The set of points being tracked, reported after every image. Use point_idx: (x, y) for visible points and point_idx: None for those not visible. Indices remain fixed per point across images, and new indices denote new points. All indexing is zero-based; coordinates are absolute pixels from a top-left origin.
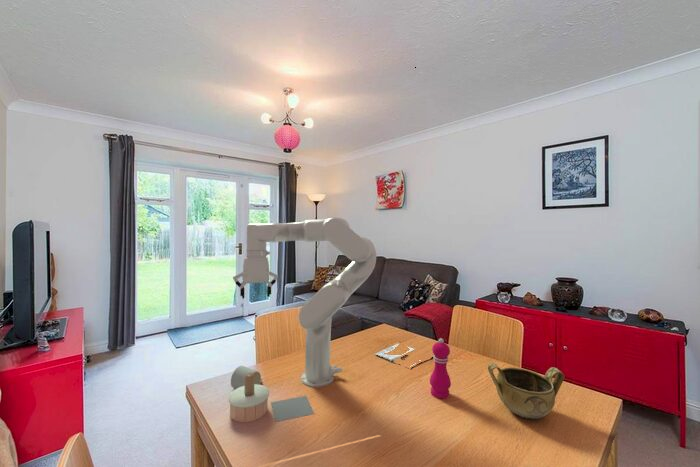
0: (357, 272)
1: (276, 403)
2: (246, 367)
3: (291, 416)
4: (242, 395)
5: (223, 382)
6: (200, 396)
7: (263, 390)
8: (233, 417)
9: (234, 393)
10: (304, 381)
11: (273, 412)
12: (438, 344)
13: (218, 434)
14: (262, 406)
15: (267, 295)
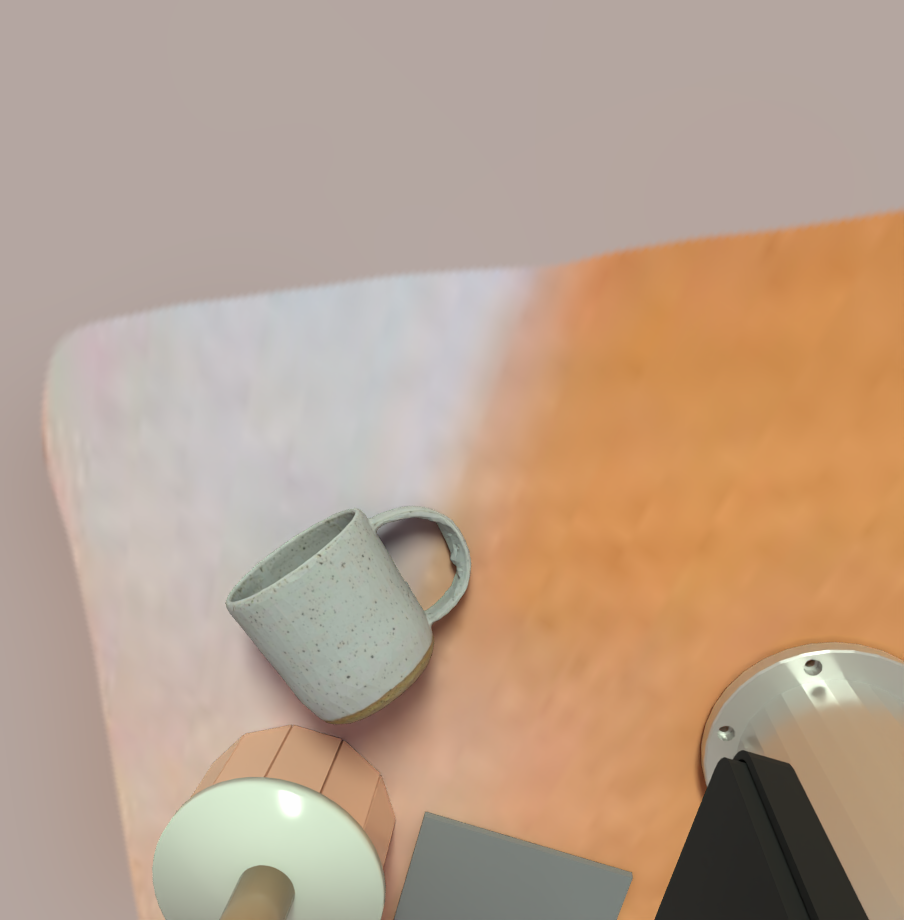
0: None
1: (447, 845)
2: (325, 620)
3: None
4: (226, 882)
5: (242, 405)
6: (89, 504)
7: (351, 904)
8: None
9: (190, 835)
10: (708, 769)
11: (401, 901)
12: None
13: (136, 879)
14: None
15: (673, 900)
